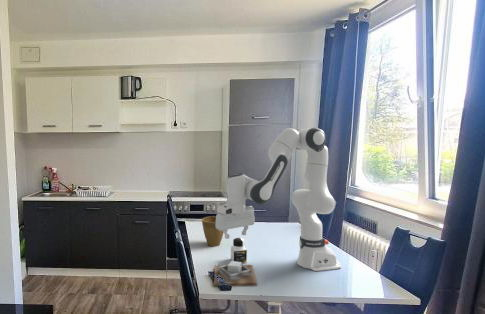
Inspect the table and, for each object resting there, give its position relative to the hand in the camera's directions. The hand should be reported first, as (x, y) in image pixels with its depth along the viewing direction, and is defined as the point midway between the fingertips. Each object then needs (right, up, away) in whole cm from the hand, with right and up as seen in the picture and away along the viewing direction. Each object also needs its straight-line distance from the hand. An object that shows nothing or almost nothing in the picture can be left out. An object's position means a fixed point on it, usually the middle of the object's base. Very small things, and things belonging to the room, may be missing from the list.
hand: (235, 236), depth 137 cm
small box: (0, -18, +1) cm, 18 cm away
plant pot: (-15, -17, +44) cm, 49 cm away
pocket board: (0, -19, +1) cm, 19 cm away
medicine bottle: (+1, -18, +19) cm, 26 cm away
